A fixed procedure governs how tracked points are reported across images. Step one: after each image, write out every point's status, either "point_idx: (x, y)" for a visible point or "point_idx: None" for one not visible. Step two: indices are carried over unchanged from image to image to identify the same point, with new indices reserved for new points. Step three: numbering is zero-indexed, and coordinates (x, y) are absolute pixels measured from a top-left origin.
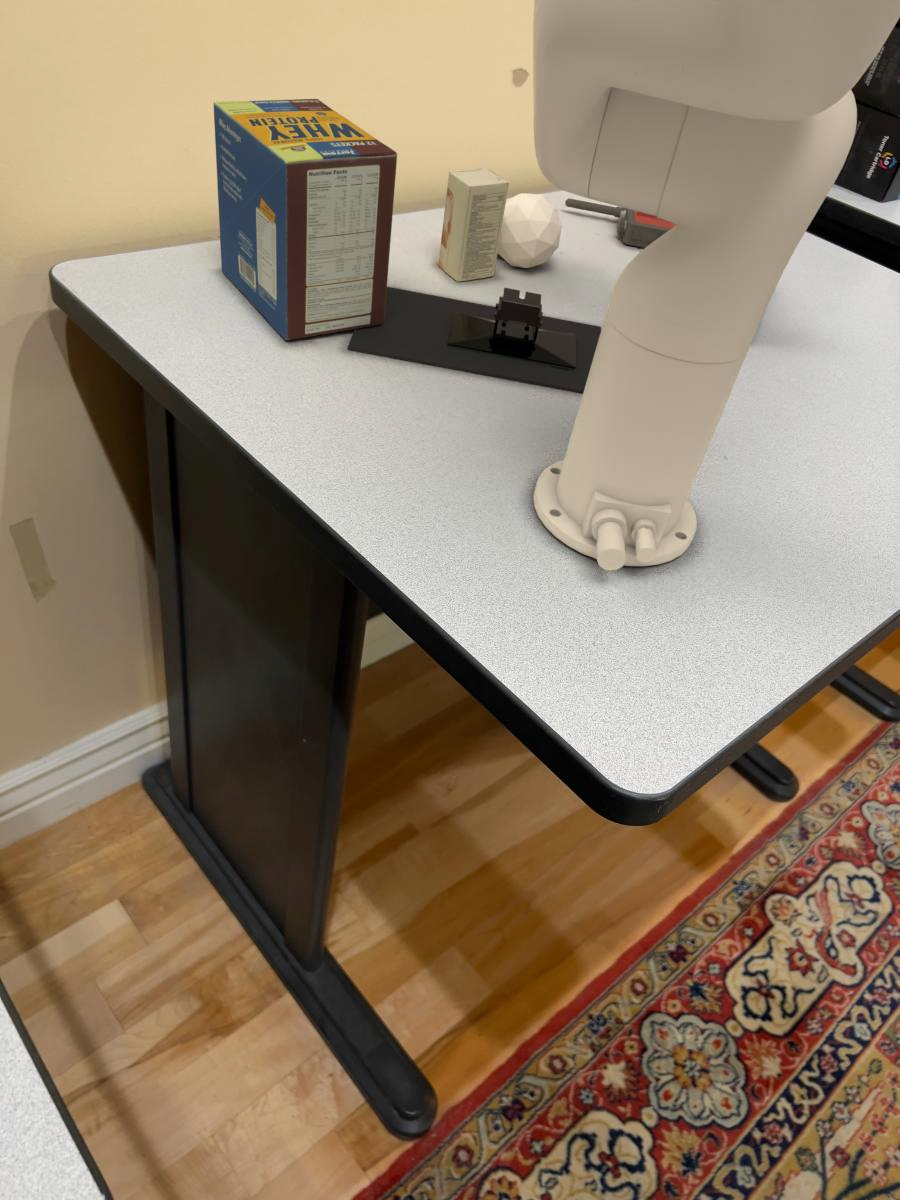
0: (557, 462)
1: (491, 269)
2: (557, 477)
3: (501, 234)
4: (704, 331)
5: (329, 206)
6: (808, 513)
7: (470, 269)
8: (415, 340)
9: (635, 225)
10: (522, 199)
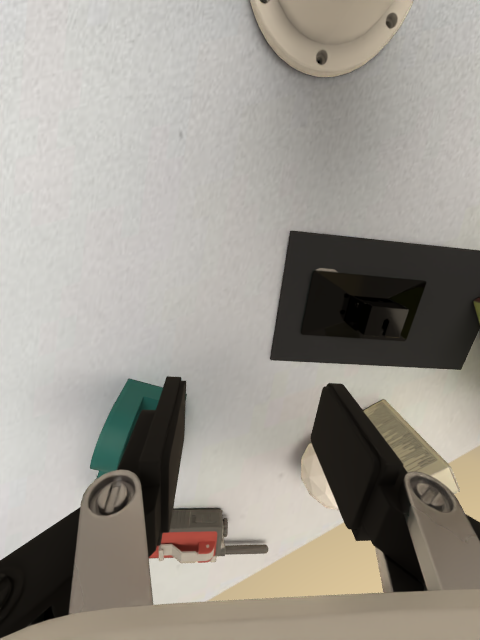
0: (385, 41)
1: None
2: (393, 4)
3: None
4: None
5: None
6: (96, 21)
7: (379, 410)
8: (450, 282)
9: (216, 526)
10: None
